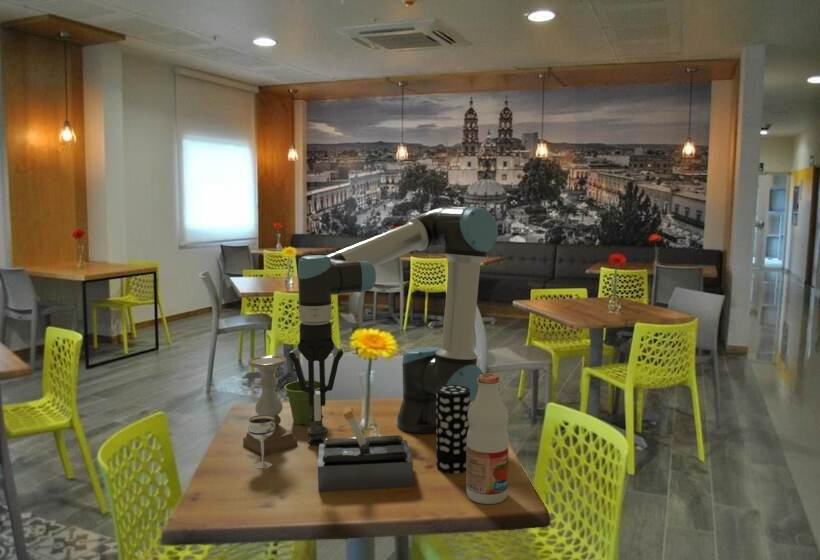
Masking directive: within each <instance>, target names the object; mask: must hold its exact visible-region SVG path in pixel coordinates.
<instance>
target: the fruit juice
mask: <svg viewBox="0 0 820 560" xmlns="http://www.w3.org/2000/svg"><path fill="white" fill-rule="evenodd" d="M477 383H478V385H479V387H478V392H477V396H476V398H475V400H474V401H473V402H471V403H470V406H469V409H468V414H467V417H468V421H469V430H468V432H467V442H466V443H467V457H466V471H465V473H466V475H465V476H466V477H465V478H466V479H465V480H466V482H465V485H466V486H465V489H466V491H465V493H466V495H467V497H468V499H469V500H470V501H473V502H475V503H477V504H483V505H495V504H499V503H502V502H504V501H505V500H506V499H507V498H508V494H509V493H508V492H509V490H508V489H509V445H510V444H509V432H508V430H507V425H508V421H509V412H508V408H507V406H506V404H505V403H504V402H503V400H502V399H501V397H500V393H499V384H500V376H499V375H497V374H494V373H483V374H480V375H478V377H477Z"/></svg>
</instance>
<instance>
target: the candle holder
mask: <svg viewBox="0 0 820 560" xmlns="http://www.w3.org/2000/svg"><path fill="white" fill-rule="evenodd" d="M247 364H248V366H250V367H252V368H256V369H257V370H258V371H259V373H260V375H261V377H260V380H259V381H258V383H257V384H258V386H259V387H260V388H261V395H260V397H259V399H258V400H257V402H256V404H255V408H254V409H255V413H256V415H271V416H274V417H275V420H274V422H275V431H274V433H273V434H272V435H271V436H270V437H269V438H266V440H265V441H264V456H267V455H270V454H271V455H272V454H274V453H277V452H280V451H283V450H287V449H289V448H293V447H296V446H297V445H298V438H297V437H295V436H294V433H293V432H292V431H290V430H288V429H287V428H284V427H283V426H282V425H280V424H281V421H282V418H281V416H279V415H280V414H281V413H282V411H283V403H282V401H281V399H280V398H279V397H278V395H277V393H276V391H275V390H276V387H277V385H278V384H279V382H278V380H277V378H276V376H275V375H276V374H275V373H276V371H277V370H278V367H282V366H284V365H286V364H287V358H286V357H284V356H282V355H260V356H255V357H252V358H250V359H248V361H247ZM242 443H243V444H242V446H244V447H246V448H248V449H250V450H252V451H253V452H255V453H257V454H259V455H261V456H262V451H261V441H259V439H255V438H254V437H253V436H251V435H250V433H249V431H248V432H246V436H245V437H243V438H242Z"/></svg>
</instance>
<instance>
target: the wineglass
mask: <svg viewBox="0 0 820 560" xmlns="http://www.w3.org/2000/svg"><path fill="white" fill-rule="evenodd" d="M274 420H275V417H274V416H271V415H258V414H256V415H253V416H250V417H249V418H248V419H247V421H248V427H247V430H248V432H249V433H250V435H251V436H253V437H254V438H255V439H259V441H261V451H262V455H261V460H259V461H256V462H255V463H253V465H252V467H253V468H256V469H259V468H261V470H263V469H268V468H270V466H271V467H272V466H273V465H274V463H273V461H270V460H265V457H264V456H265V455H264V441H265V440H266V438H269V437H270V436H271V435H272V434H273V433H274V431H275V422H274ZM262 468H263V469H262Z"/></svg>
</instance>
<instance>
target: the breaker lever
mask: <svg viewBox="0 0 820 560" xmlns="http://www.w3.org/2000/svg"><path fill="white" fill-rule="evenodd" d="M354 412H355V411H354V410H353V408H352V405H349V406H347V407H345V408H343V409H342V414H343V417H344V418H345V420H346V421H347V422H348V424H349V426H350V429H351V430H352V432H353V434H354V436H355V437H356V439H357V441H358V443H359V449H360V453H361V454H368V453H369V451H370V448H369V442H368V440H367V439H365V438H364V437H365V436H364V434H363V432H362V430H361V428H360V425H359V423H358V421H357V420H356V417H355V415H354Z"/></svg>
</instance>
